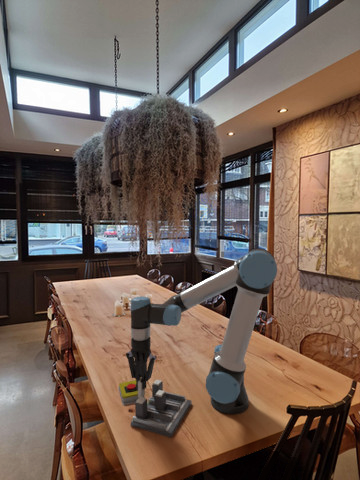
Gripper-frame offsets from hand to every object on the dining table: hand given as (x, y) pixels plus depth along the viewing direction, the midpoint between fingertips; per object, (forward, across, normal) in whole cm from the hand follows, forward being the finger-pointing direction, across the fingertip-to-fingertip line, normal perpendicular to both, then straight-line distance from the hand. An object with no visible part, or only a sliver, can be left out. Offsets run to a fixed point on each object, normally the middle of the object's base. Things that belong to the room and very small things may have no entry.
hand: (141, 396), depth 113 cm
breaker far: (+4, -4, -7) cm, 8 cm away
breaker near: (+4, -4, +7) cm, 8 cm away
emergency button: (+6, +10, -8) cm, 14 cm away
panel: (+5, -9, 0) cm, 11 cm away
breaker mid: (+3, -8, 0) cm, 9 cm away
